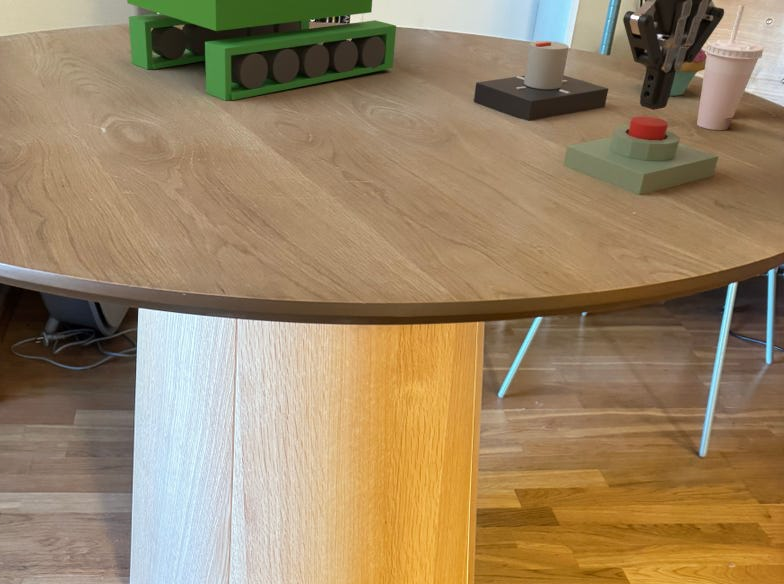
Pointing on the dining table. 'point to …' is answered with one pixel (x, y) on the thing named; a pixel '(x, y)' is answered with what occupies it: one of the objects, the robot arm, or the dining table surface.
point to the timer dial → (546, 64)
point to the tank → (260, 42)
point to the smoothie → (726, 78)
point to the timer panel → (539, 97)
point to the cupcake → (687, 73)
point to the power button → (648, 128)
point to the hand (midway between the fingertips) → (652, 106)
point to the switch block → (640, 161)
